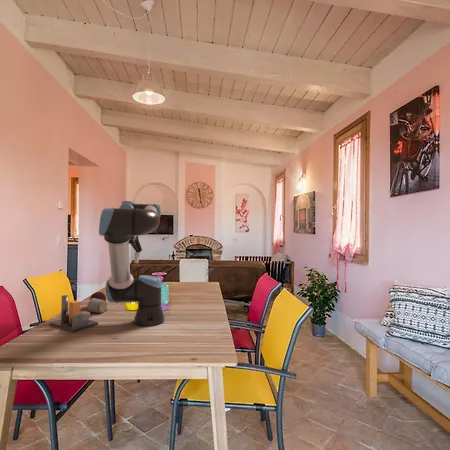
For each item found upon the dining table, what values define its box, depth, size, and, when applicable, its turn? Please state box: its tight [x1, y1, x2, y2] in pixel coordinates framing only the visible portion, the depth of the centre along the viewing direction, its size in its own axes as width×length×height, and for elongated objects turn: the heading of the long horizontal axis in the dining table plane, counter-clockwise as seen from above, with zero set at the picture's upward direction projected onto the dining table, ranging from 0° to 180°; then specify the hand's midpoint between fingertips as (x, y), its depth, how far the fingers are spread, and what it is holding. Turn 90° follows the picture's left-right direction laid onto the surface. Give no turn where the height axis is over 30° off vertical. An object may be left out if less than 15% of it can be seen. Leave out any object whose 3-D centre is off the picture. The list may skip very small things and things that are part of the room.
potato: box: [89, 291, 107, 301], centre depth 182 cm, size 9×12×9 cm
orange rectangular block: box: [68, 300, 81, 323], centre depth 150 cm, size 3×3×10 cm
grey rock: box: [72, 310, 92, 327], centre depth 146 cm, size 6×8×6 cm
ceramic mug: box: [87, 298, 109, 314], centre depth 173 cm, size 11×8×8 cm
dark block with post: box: [49, 294, 99, 333], centre depth 149 cm, size 19×13×13 cm
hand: (127, 264), depth 177 cm, fingers open, 13 cm apart
